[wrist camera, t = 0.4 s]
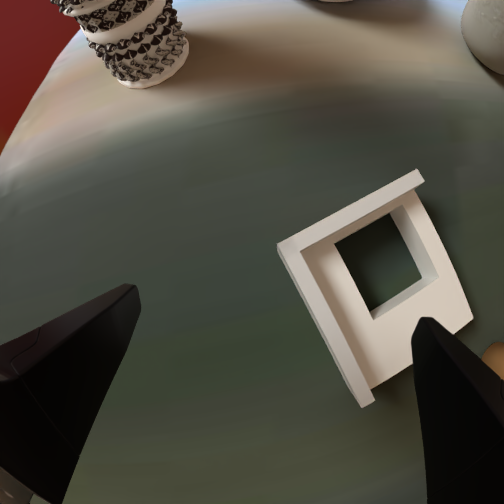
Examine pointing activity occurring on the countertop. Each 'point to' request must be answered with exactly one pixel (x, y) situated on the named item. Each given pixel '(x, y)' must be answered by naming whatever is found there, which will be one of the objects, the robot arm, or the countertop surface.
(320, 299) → the housing
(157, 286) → the countertop surface
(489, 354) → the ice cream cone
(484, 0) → the light grey bottle
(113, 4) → the decorative candle
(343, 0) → the paper bowls
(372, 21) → the countertop surface
